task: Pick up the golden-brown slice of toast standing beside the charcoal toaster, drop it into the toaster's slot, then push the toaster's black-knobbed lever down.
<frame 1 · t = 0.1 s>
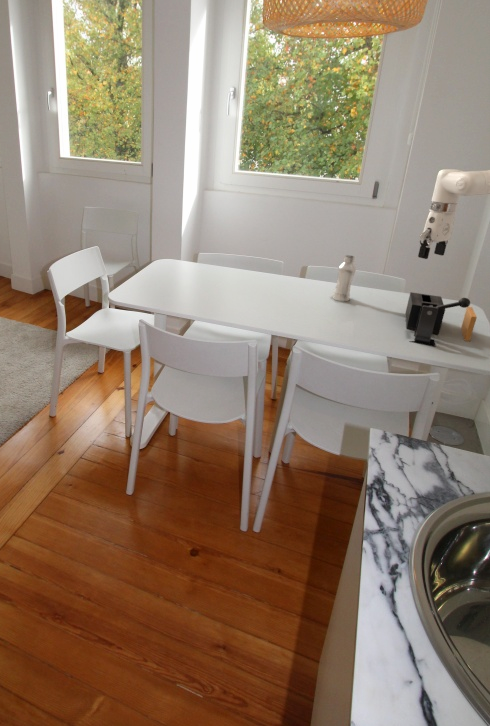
hand: (430, 256, 164), 26 cm above the table, tool pointing down, fingers open, 9 cm apart
lever bracket: (420, 342, 159), on the table
toast: (464, 338, 163), on the table
plastic bottle: (339, 303, 193), on the table
toaster: (419, 328, 170), on the table
toaster lever: (446, 306, 152), point 14 cm above the table, hinge at 25.0°
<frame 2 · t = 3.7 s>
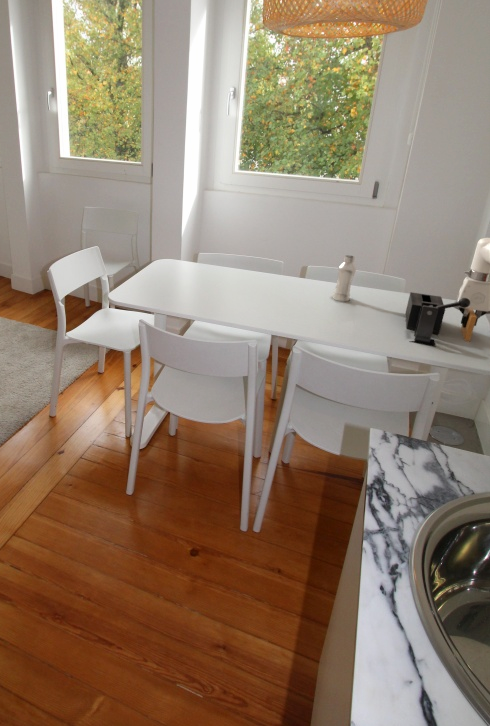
hand: (467, 326, 161), 5 cm above the table, tool pointing down, fingers closed on toast, 1 cm apart
toast: (464, 338, 163), on the table, touching gripper
everything else where it was.
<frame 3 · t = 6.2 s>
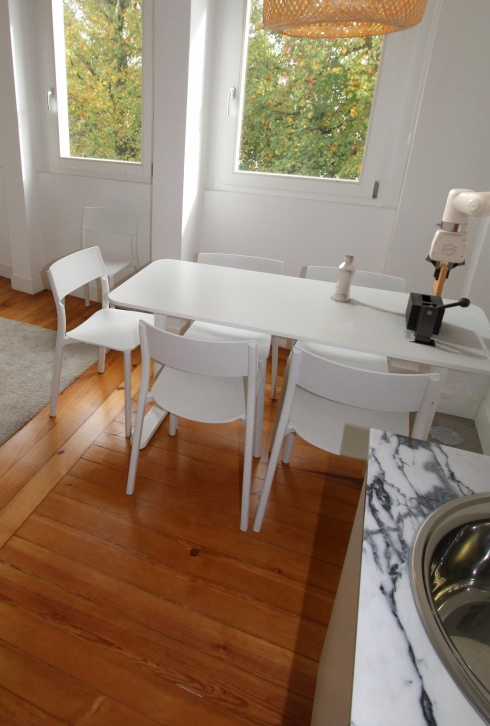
hand: (439, 279, 162), 19 cm above the table, tool pointing down, fingers closed on toast, 1 cm apart
toast: (436, 291, 163), point 15 cm above the table, touching gripper
everything else where it was.
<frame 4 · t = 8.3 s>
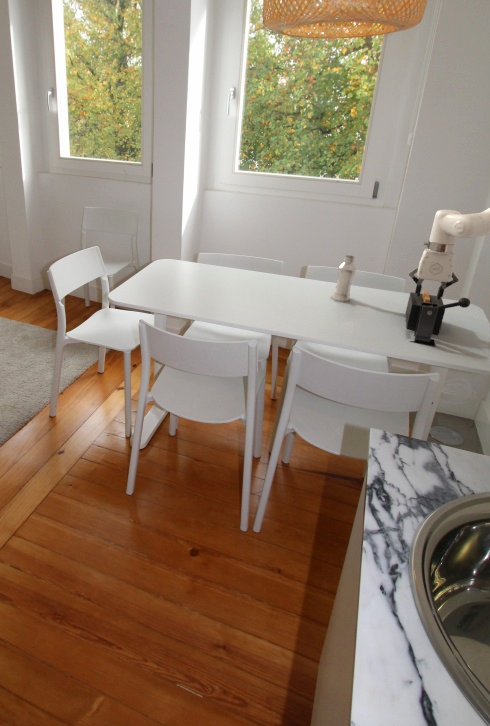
hand: (428, 296, 165), 13 cm above the table, tool pointing down, fingers open, 5 cm apart
toast: (422, 321, 169), point 3 cm above the table, touching toaster
everything else where it was.
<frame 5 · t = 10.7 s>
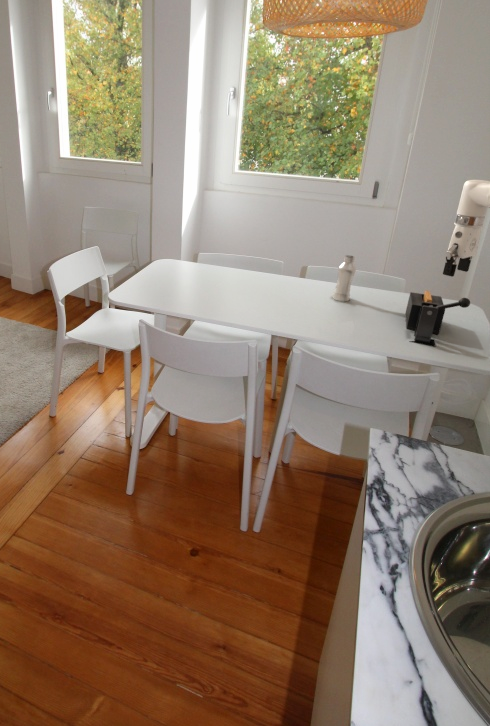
hand: (455, 272, 153), 24 cm above the table, tool pointing down, fingers open, 9 cm apart
nothing on the table moved.
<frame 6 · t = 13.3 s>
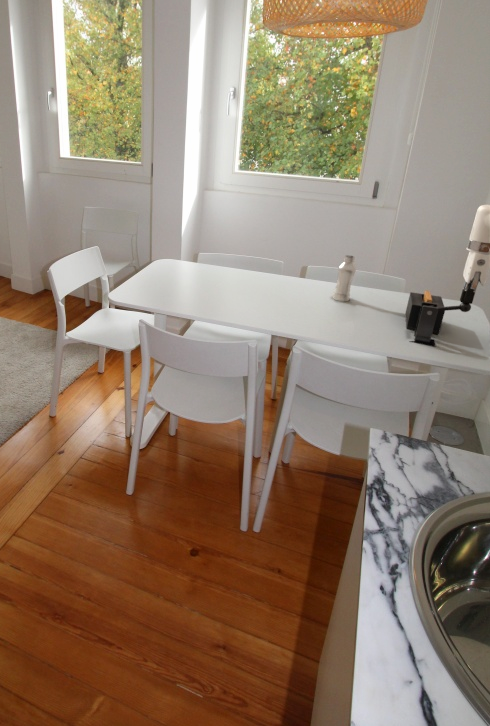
hand: (465, 302, 149), 16 cm above the table, tool pointing down, fingers closed
toaster lever: (447, 308, 152), point 13 cm above the table, hinge at 16.3°, touching gripper
everything else where it was.
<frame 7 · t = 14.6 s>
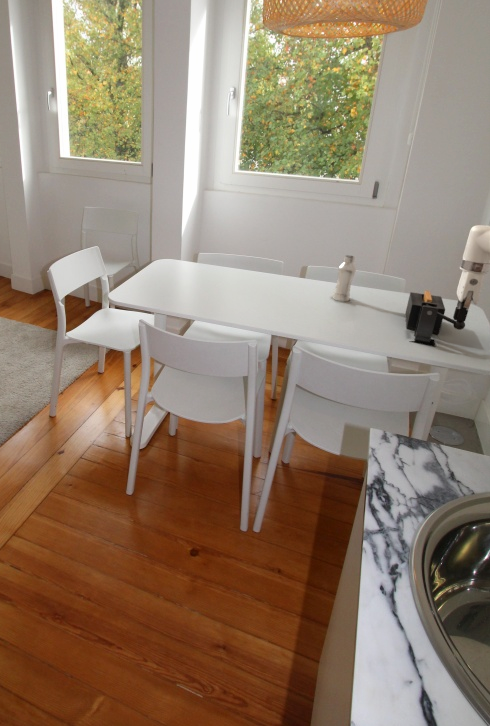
hand: (458, 319, 152), 10 cm above the table, tool pointing down, fingers closed
toaster lever: (444, 317, 153), point 10 cm above the table, hinge at -20.1°, touching gripper
everything else where it was.
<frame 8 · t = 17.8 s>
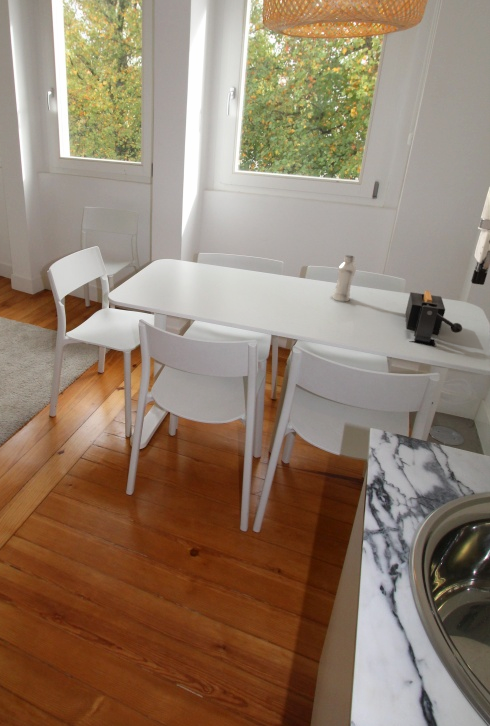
hand: (477, 283, 146), 23 cm above the table, tool pointing down, fingers closed
toaster lever: (442, 319, 154), point 10 cm above the table, hinge at -27.7°
everything else where it was.
at the end: toast 0.1 cm off-centre on the toaster, point 3.0 cm above the toaster's base; toast tilted 0°; toaster lever at -28° (first picture: +25°) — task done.
